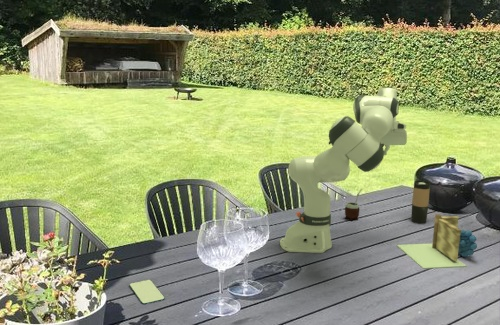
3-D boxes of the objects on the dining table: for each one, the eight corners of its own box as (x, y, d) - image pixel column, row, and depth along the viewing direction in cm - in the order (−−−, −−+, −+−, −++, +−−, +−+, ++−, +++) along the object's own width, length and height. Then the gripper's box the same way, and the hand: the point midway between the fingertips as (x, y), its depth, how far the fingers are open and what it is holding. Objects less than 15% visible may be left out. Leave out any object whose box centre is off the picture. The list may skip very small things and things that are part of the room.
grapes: (482, 260, 207) (486, 232, 204) (469, 263, 204) (473, 234, 202) (461, 250, 217) (464, 223, 215) (448, 252, 215) (451, 225, 212)
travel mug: (424, 219, 258) (428, 180, 253) (428, 224, 250) (432, 184, 246) (409, 218, 258) (412, 180, 254) (412, 223, 251) (415, 184, 247)
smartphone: (165, 301, 171) (150, 281, 184) (165, 298, 171) (150, 279, 184) (142, 306, 167) (128, 286, 180) (142, 303, 167) (128, 283, 180)
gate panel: (458, 260, 204) (461, 230, 201) (453, 261, 204) (457, 230, 201) (439, 247, 217) (442, 218, 215) (435, 248, 217) (438, 218, 214)
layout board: (423, 268, 198) (423, 267, 198) (396, 245, 221) (397, 244, 221) (466, 266, 201) (466, 265, 201) (435, 244, 224) (435, 243, 224)
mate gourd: (343, 220, 254) (345, 191, 250) (345, 215, 261) (347, 187, 258) (359, 222, 251) (360, 192, 248) (360, 217, 259) (362, 188, 256)
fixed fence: (433, 249, 218) (437, 216, 214) (431, 247, 220) (434, 214, 217) (456, 248, 219) (459, 215, 216) (453, 246, 221) (456, 213, 218)
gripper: (365, 125, 220) (363, 156, 223) (409, 125, 223) (407, 156, 226) (359, 123, 226) (357, 154, 229) (403, 123, 229) (400, 153, 232)
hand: (382, 155), depth 228 cm, fingers closed
